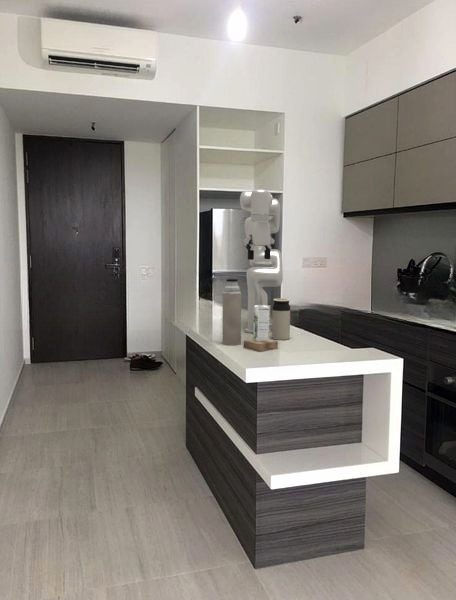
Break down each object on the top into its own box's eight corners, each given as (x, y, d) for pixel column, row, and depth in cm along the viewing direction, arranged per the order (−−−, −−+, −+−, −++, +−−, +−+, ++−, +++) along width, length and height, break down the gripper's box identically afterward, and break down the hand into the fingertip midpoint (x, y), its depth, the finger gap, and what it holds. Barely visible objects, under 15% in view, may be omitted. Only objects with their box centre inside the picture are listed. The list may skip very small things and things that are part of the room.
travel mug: (293, 339, 242) (293, 299, 239) (279, 340, 237) (279, 300, 235) (282, 336, 248) (283, 298, 246) (268, 337, 244) (269, 298, 242)
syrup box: (252, 339, 224) (253, 305, 222) (266, 339, 224) (267, 305, 223) (254, 342, 218) (255, 306, 217) (269, 341, 219) (269, 306, 217)
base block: (261, 344, 228) (261, 337, 228) (277, 348, 221) (277, 341, 220) (243, 347, 222) (243, 340, 222) (259, 351, 214) (259, 344, 214)
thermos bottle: (226, 341, 236) (226, 278, 233) (243, 342, 233) (243, 278, 230) (219, 344, 228) (220, 279, 225) (237, 345, 226) (238, 279, 223)
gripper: (268, 219, 236) (267, 258, 238) (238, 218, 225) (238, 259, 227) (280, 219, 230) (279, 259, 232) (250, 218, 220) (250, 260, 222)
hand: (259, 259), depth 230 cm, fingers open, 9 cm apart
